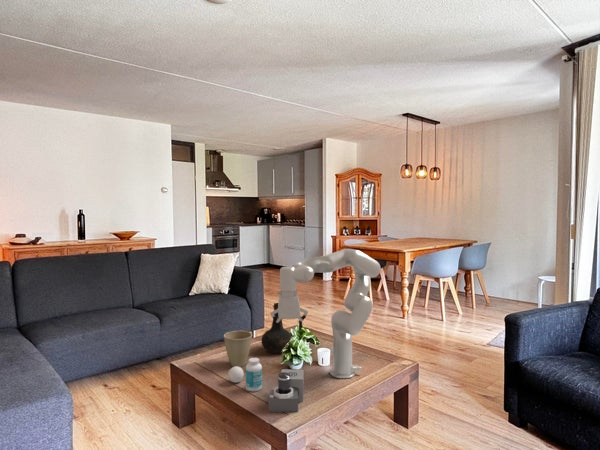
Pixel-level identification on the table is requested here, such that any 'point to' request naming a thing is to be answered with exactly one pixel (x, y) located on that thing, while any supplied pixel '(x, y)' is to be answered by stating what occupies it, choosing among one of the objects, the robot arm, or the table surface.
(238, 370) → the white ovoid
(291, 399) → the grey ring-top block
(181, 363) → the table surface
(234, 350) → the plant pot
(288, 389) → the lens
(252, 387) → the pill bottle
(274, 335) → the glass bottle
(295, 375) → the icon cube
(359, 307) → the robot arm
